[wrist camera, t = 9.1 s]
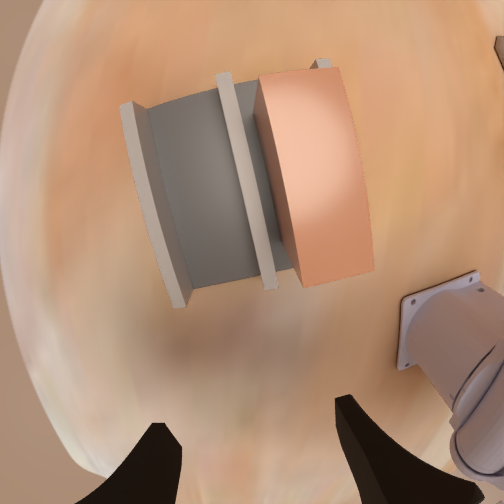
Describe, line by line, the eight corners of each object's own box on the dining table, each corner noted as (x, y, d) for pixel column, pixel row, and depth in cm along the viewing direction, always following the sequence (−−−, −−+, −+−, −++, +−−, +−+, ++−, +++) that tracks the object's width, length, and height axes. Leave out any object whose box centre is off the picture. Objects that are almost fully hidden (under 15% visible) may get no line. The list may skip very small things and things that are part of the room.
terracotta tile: (327, 231, 17) (374, 270, 10) (280, 241, 17) (303, 288, 10) (301, 105, 15) (338, 67, 8) (252, 113, 15) (258, 75, 8)
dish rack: (314, 76, 15) (329, 58, 12) (348, 249, 18) (368, 266, 15) (140, 115, 15) (119, 105, 12) (184, 285, 19) (173, 309, 16)
